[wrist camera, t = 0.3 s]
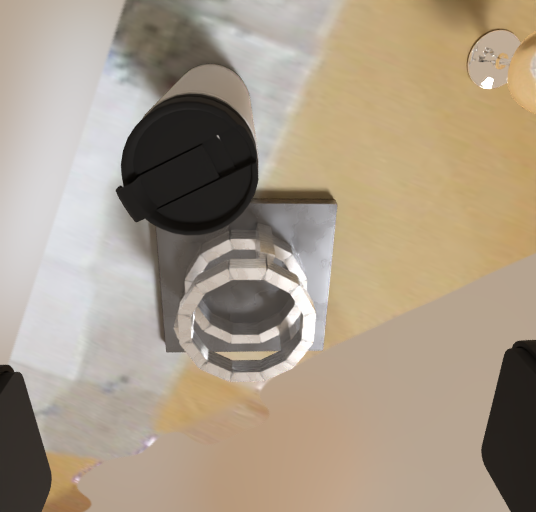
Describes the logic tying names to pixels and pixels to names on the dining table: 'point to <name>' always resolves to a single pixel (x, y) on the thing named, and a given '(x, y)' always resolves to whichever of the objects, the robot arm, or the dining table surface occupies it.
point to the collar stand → (250, 287)
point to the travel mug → (193, 155)
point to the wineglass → (506, 65)
